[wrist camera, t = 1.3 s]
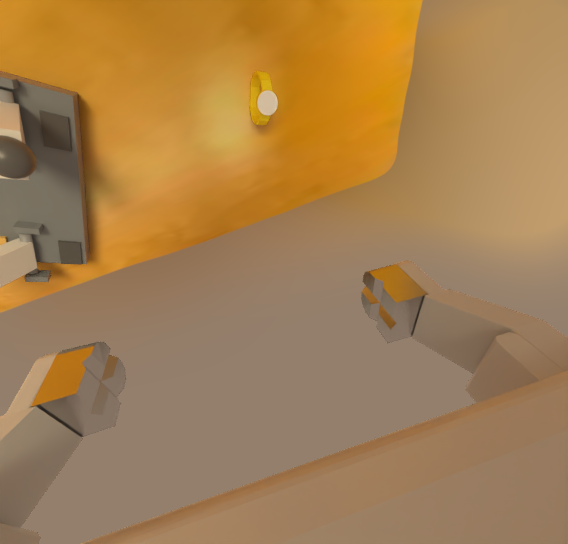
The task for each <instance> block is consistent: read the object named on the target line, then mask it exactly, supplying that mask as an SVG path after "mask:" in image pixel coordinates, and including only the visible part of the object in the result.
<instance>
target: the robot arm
mask: <svg viewBox="0 0 568 544" xmlns="http://www.w3.org/2000/svg"><path fill="white" fill-rule="evenodd" d="M363 282H364V284H365V285H366V287H365V288H364V289H363V291H362V297H361V299H362V304H363V307H364V309H365V311H366V313H367V314H368V316H369V318H371V319H373V320H376V321H377V329H378V330H379V332H380V333H381V335H382V336H383V337H384V339H385V340H386V341H387V343H390V342H394V341H398V340H401V339H404V338H408V337H412V338H413V339H415V340H417V341H419V342H420V343H422V344H424V345H425V346H427V347H429V348H430V349H432V350H434V351H435V352H437V353H439V354H440V355H442V356H444V357H445V358H447V359H449V360H451V361H452V362H454V363H456V364H457V365H459V366H461V367H462V368H464V369H466V370H467V371H469V372H471V373H473V375H472V377H471V379H470V380H469V382H468V384H467V386H466V391H467V392H468V393H469V394H470V396H471V397H472V398H473V399H474V400H475V401H476V403H475V404H472V405H469V406H466V407H463V408H460V409H458V410H455V411H452V412H449V413H447V414H444V415H441V416H438V417H435V418H432V419H430V420H427V421H424V422H421V423H418V424H415V425H413V426H410V427H407V428H404V429H401V430H399V431H396V432H393V433H390V434H387V435H385V436H382V437H379V438H376V439H374V440H371V441H368V442H365V443H362V444H359V445H357V446H354V447H351V448H348V449H345V450H342V451H339V452H337V453H334V454H331V455H328V456H325V457H323V458H320V459H317V460H314V461H311V462H309V463H306V464H303V465H300V466H297V467H294V468H292V469H289V470H286V471H283V472H281V473H277V474H275V475H272V476H269V477H266V478H264V479H261V480H258V481H255V482H252V483H250V484H247V485H244V486H241V487H238V488H235V489H232V490H230V491H227V492H224V493H221V494H218V495H216V496H213V497H210V498H207V499H205V500H201V501H199V502H196V503H193V504H190V505H187V506H185V507H182V508H179V509H176V510H173V511H171V512H168V513H165V514H162V515H159V516H156V517H154V518H151V519H148V520H145V521H142V522H140V523H137V524H134V525H131V526H128V527H126V528H123V529H120V530H117V531H115V532H111V533H109V534H106V535H103V536H100V537H97V538H95V539H92V540H89V541H86V542H83V543H81V544H568V338H567V337H566V336H564V335H563V334H562V333H560V332H559V331H557V330H556V329H555V328H553V327H552V326H550V325H549V324H548V323H546V322H545V321H543V320H541V319H538V318H535V317H532V316H529V315H526V314H523V313H520V312H517V311H514V310H511V309H508V308H505V307H502V306H499V305H496V304H493V303H490V302H487V301H484V300H481V299H478V298H474V297H471V296H469V295H466V294H463V293H460V292H457V291H454V290H451V289H447V290H444V289H443V288H442V287H440V286H439V285H438V284H437V283H436V282H435V281H434V280H432V279H431V278H430V277H429V276H428V275H427V274H426V273H424V272H423V271H422V270H421V269H420V268H419V267H417V266H416V265H415V264H414V263H413V262H411V261H408V260H407V261H403V262H400V263H397V264H393V265H389V266H386V267H382V268H378V269H375V270H371V271H367V272H365V274H364V276H363ZM109 353H110V348H109V346H108V345H107V344H106V343H104V342H96V343H92V344H88V345H83V346H79V347H75V348H71V349H67V350H63V351H60V352H56V353H52V354H47V355H43V356H41V357H40V358H39V359H38V360H36V362H35V364H34V365H33V367H32V369H31V371H30V373H29V374H28V376H27V378H26V379H25V381H24V383H23V385H22V386H21V388H20V390H19V392H18V393H17V395H16V397H15V399H14V400H13V402H12V404H11V406H10V408H9V410H8V411H7V413H6V415H3V416H0V544H39V540H40V536H39V534H38V532H34V531H30V530H26V529H22V528H21V526H22V525H23V524H24V522H25V521H26V519H27V518H28V516H29V515H30V514H31V512H32V511H33V509H34V508H35V506H36V505H37V504H38V502H39V500H40V499H41V498H42V496H43V495H44V493H45V492H46V491H47V489H48V488H49V486H50V485H51V484H52V482H53V481H54V479H55V478H56V476H57V475H58V474H59V472H60V471H61V469H62V468H63V466H64V465H65V464H66V462H67V461H68V459H69V458H70V456H71V455H72V454H73V452H74V451H75V449H76V448H77V447H78V445H79V444H80V442H81V441H82V439H83V438H82V437H84V436H87V435H90V434H93V433H96V432H99V431H102V430H105V429H108V428H111V427H114V426H115V425H116V420H117V416H118V412H119V408H120V401H119V400H118V398H117V396H118V395H119V394H120V393H121V391H122V390H123V389H124V386H125V380H126V375H125V368H124V365H123V363H122V362H121V360H120V359H119V358H117V357H115V356H112V355H109Z"/></svg>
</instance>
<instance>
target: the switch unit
mask: <svg viewBox="0 0 568 544" xmlns="http://www.w3.org/2000/svg"><path fill="white" fill-rule="evenodd" d="M0 88H4V89H8V90H11V91H12V92H13V98H14V103H16V104H19V109H20V115H21V120H22V126H23V132H24V137H25V143H26V145H27V146H28V147H29V148H30V149H31V150H32V151H33V153H34V155H35V157H36V161H37V165H36V169H35V171H34V172H33V173H32V174H31V175H29V180H18V179H4V178H0V245H2V244H5V243H7V242H10V241H12V240H15V239H17V238H19V235H18V233H24V234H31V235H32V240H33V245H34V250H35V255H36V260H37V262H46V263H61V264H87V261H88V258H89V254H90V249H89V236H88V223H87V209H86V196H85V183H84V170H83V156H82V143H81V130H80V116H79V103H78V93H76V92H72V91H69V90H65V89H62V88H58V87H55V86H51V85H48V84H44V83H41V82H37V81H34V80H30V79H27V78H23V77H20V76H16V75H13V74H9V73H6V72H2V71H0ZM50 277H51V271H46V270H39V272H38V273H35V274H29V273H27V274H26V275H25V281H26V282H49V279H50Z"/></svg>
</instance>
